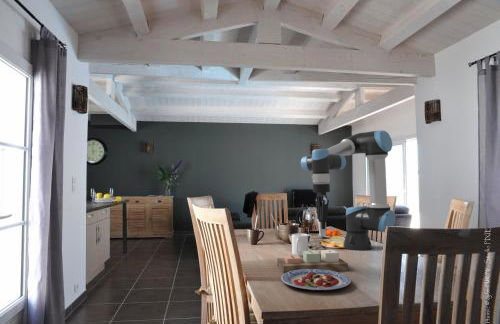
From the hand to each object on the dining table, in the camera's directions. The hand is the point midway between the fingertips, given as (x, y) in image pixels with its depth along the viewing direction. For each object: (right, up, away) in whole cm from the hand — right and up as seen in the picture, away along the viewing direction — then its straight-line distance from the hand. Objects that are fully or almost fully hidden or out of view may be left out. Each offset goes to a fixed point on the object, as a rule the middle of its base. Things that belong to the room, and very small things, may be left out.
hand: (322, 236), depth 154 cm
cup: (-7, -15, +23) cm, 29 cm away
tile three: (-14, -13, -3) cm, 19 cm away
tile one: (+3, -11, -1) cm, 12 cm away
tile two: (-5, -11, -1) cm, 13 cm away
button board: (-5, -14, -2) cm, 15 cm away
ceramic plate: (-8, -13, -24) cm, 29 cm away
